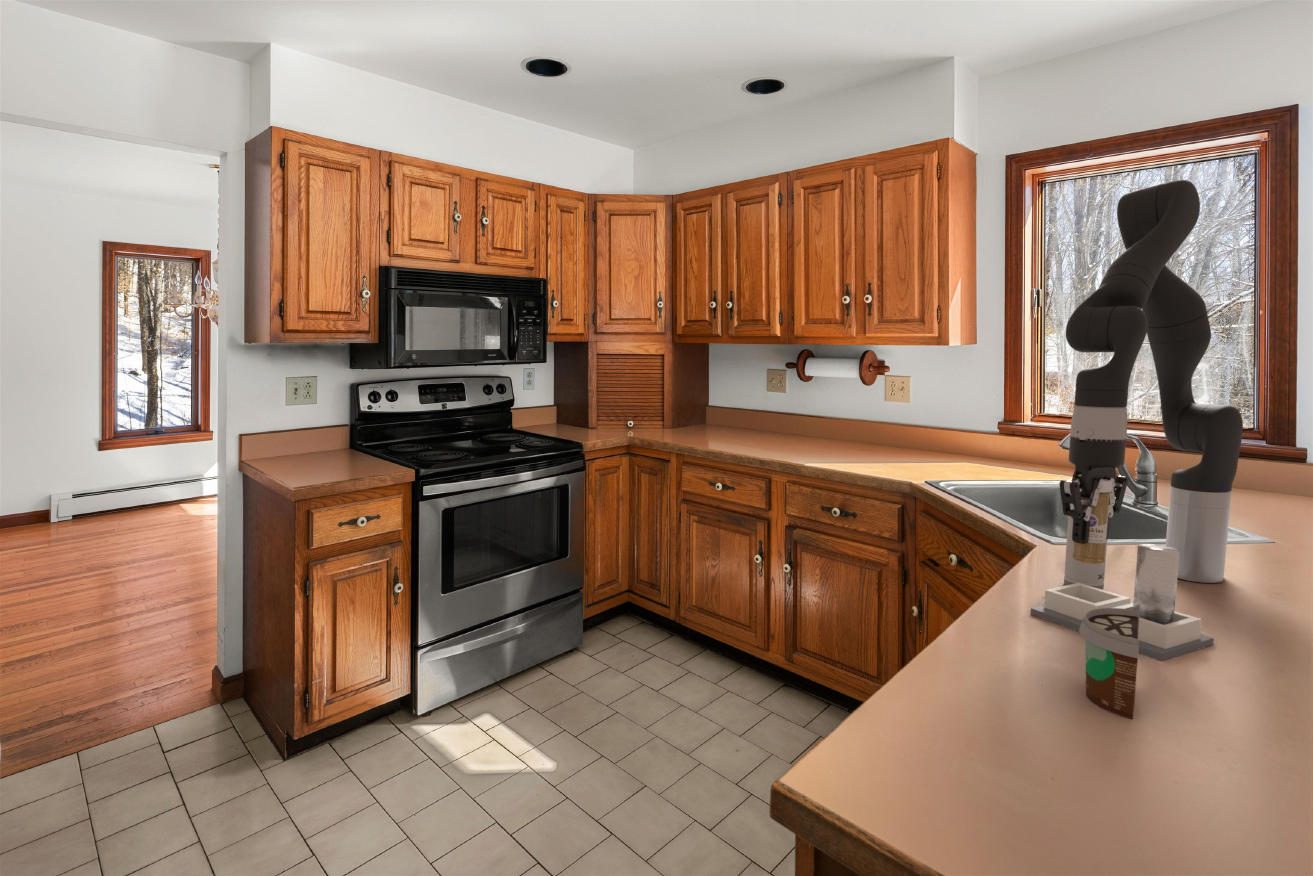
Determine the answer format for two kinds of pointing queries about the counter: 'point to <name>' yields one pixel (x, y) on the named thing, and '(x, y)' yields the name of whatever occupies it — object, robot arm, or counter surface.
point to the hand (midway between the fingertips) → (1089, 540)
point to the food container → (1111, 658)
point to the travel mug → (1082, 565)
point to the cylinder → (1156, 582)
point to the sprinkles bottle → (1095, 529)
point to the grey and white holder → (1153, 637)
